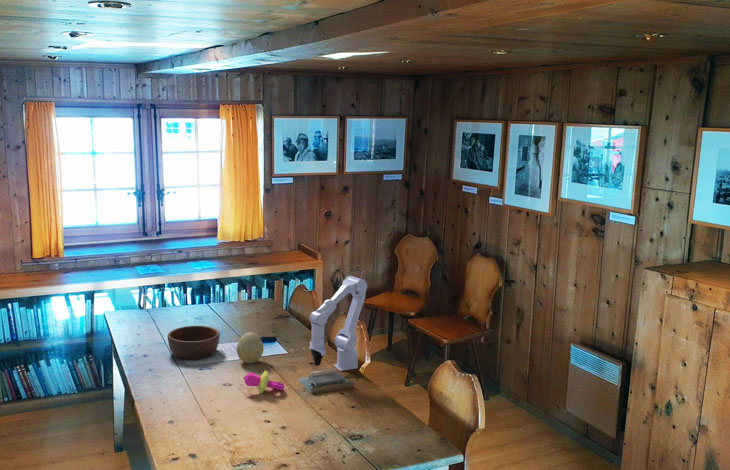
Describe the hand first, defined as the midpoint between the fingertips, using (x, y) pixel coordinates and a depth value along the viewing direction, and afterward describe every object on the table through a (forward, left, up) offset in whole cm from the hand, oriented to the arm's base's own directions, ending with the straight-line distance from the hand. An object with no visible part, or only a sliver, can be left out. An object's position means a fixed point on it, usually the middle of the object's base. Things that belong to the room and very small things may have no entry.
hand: (317, 365), depth 314 cm
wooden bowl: (+46, -48, -5) cm, 67 cm away
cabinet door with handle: (0, +12, -4) cm, 12 cm away
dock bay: (0, +9, -6) cm, 11 cm away
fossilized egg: (+24, -26, -5) cm, 36 cm away
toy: (+28, +9, -5) cm, 30 cm away
